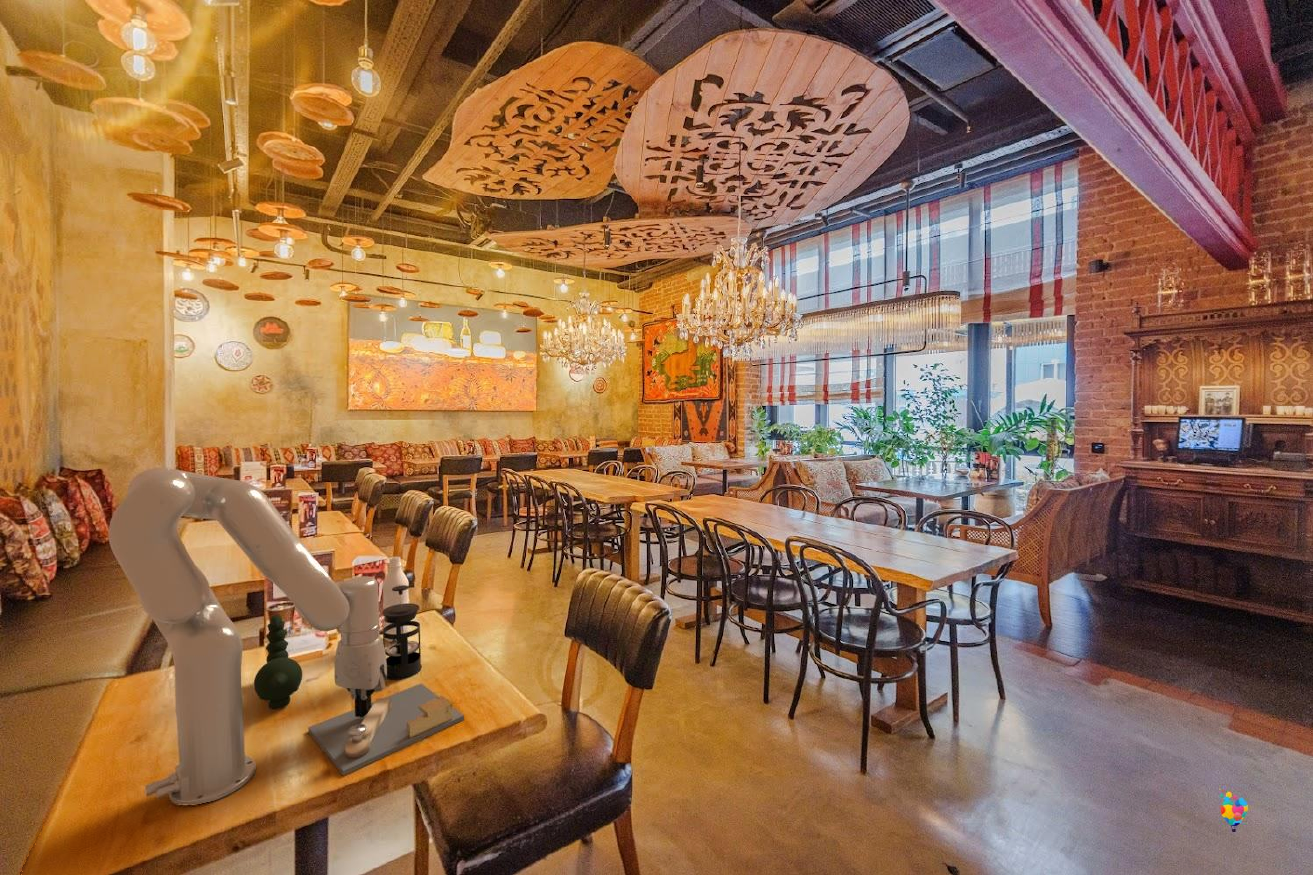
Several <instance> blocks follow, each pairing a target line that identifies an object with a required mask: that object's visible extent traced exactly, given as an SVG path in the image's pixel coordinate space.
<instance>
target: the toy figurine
mask: <svg viewBox="0 0 1313 875" xmlns="http://www.w3.org/2000/svg"><path fill="white" fill-rule="evenodd" d="M285 624H286V623H285V621H283V618H282V616H281V615H280V614H273V615H272V616H271V617H270V619H269V623H268V624H267V630H268V633H267V634H266V635H265V637H266V639H267V641H268V642H269V643H268V644H267V645H266V646H265V650H266V651H267V653H268V654H267V656H266V663H265V664H264V665H262V667H260V668H259V670H258V671H257V673H256V674H255V676H254V680H253V688H254V692H255V693H256V696H258V698H259V700H261V701H267V702H268V703H267V706H268V708H269V709H271V710H280V709H283V708H285V707H287V706H288V705H289V704H290V703H291V695H293V694H294V693H295V692H298V690H299V689H300V688H299V687H300V685H301V683H302V679H303V670H302V667H301V665H300V664H299V662H298V661H296V660H295V659H294V658H293V659H292V658H289V652H288V651H287V648H288V646H289V642H288V641H286V640H285V639H286V635H287V634H288V631H287V630H286V629H284V628H285Z"/></svg>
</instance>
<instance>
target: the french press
mask: <svg viewBox="0 0 1313 875" xmlns="http://www.w3.org/2000/svg"><path fill="white" fill-rule="evenodd" d="M407 589H408V590H409V589H410V586H409V585H408V586H406V585H401V586H396V587H394V588H392V591H399V595H400V604H398V605H394V606H390V607H388V608H386V609H383V610H382V611H381V612H382V616H383V617H384V623H385V622H387V623H392V624H390V625H388V626H386V627H385V628H384V627H383V629H382V630H380V636H381V635H382V641H383V644H384V649H385V655H386V663H387V677H386V680H387V679H388V680H392V681H398V680H404V679H405V680H406V679H409V678H411V677H413V675H414V676H416V675H417V674H419V673H420V672H421V671H422V669H421V668H423V667H422V666H423V665H422V662H421V661H422V660H421V659H422V658H421V656H422V655H421V654H422V653H421V624H420V622H418V621H416V620H414V619H415V618H416V616H417V614H418V611H419V610H420V606H419V605H418V604H416V603H410V602H409V603H405V604H402V597H401V595H402V594H403V591H404V590H407ZM403 626H410V627H411V626H412V627H416V628H415V629H412V630H410V631H409V632H407V633H403ZM395 627H396V634H387V633H385V632H386V631H388V630H390V629H392V628H395ZM417 634H418V641H416V640H415V641H414V640H408V639H409V638H411V637H413V636H415V635H417ZM386 639H394V640H395V639H396V640H395V643H392V644H390V645H387V647H386V644H385V640H386ZM417 651H418V652H417ZM419 671H420V672H419ZM418 672H419V673H418Z"/></svg>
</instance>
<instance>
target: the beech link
mask: <svg viewBox="0 0 1313 875" xmlns="http://www.w3.org/2000/svg"><path fill="white" fill-rule="evenodd" d="M373 702H374V704H373V706H372V708H371V709H370V711H369V712H368V714H367V715H366V717H365V718H364V720H363V721H362V723H361V724H364V725H366V731H365V732H364V733H363V740H362V741H360V742H357V743H353V742H352V737H351V738H349V739H348V740H347V741H346V742H345V755H346V757H348V758H357V757H360V756H363V755H365V754H366V753H367V752H368V751H369V750H370V742H371V741H372V739H373V737H374V735H375V734H376V732H377V730H378V729H379V727H380V725H381V723H382V722H383V720H384V718H385V717H386V715H387V713H388V712H389V710H390V709H391V698H385V697H380V698H378V697H377V698H376V699H375V701H373Z"/></svg>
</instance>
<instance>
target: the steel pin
mask: <svg viewBox="0 0 1313 875" xmlns="http://www.w3.org/2000/svg"><path fill="white" fill-rule="evenodd" d="M365 731H366V725H364V724H358V725H355V726H352V727H351V728H349V730H348V735H350V736H352V742H353V743H357V742H360V741H362V740H363V733H364V732H365Z"/></svg>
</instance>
